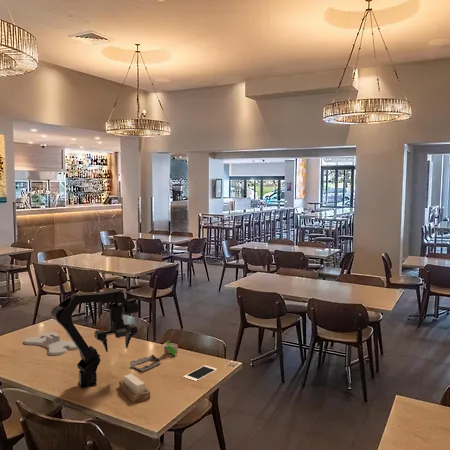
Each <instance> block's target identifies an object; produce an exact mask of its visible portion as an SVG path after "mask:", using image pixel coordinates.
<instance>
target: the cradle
mask: <svg viewBox="0 0 450 450" xmlns="http://www.w3.org/2000/svg"><path fill="white" fill-rule="evenodd" d="M118 383H119V385H118V386H119V388H120V389H121V391H122V392H123V393H124V395H125V396H126V397H127V398H128V399H129V401H130V402H131V403H137V402H140V401H145V400H149V399H150V398H151V391H150V390H149V389H148V388H147V386H145V392H144V393H140V394H137V395H135V394H134V393H132V392H131V391H130V390H129V389H128V388H127V387H126V386H125V385H124V379H122V380H121V379H120V380H118Z"/></svg>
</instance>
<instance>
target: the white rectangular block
mask: <svg viewBox="0 0 450 450" xmlns="http://www.w3.org/2000/svg"><path fill="white" fill-rule="evenodd" d="M123 380H124V385H125V386H126V387H127V388H128V389H129V390H130V391H131V392H132V393H134V394H135V395H137V394H140V393H144V392H145V387H146V385H145V382H144V381H142V380H141V379H139V378H138V377H137V376H135V375H134V374H132V373H129V374H125V375H123Z"/></svg>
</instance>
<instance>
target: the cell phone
mask: <svg viewBox="0 0 450 450" xmlns="http://www.w3.org/2000/svg"><path fill="white" fill-rule="evenodd" d="M216 371H218V368H215V367H212V366H209V365H207V364H206V365H202V366H201V367H199V368H197V369H194V370H193V371H191V372H189V373H188V374H184V375H183V376H182V377H183V378H184V377H185V378H184V379H187V378H188V380H190V379H191V380H190V381H193V380H194V381H193V382H198V381H199V380H201V379H203V378H205V377H207V376H209V375H211V374H212V373H214V372H216ZM210 373H211V374H210ZM197 380H198V381H197Z"/></svg>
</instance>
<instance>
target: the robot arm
mask: <svg viewBox="0 0 450 450" xmlns="http://www.w3.org/2000/svg"><path fill="white" fill-rule="evenodd" d="M89 303H90V304H91V303H107V304H106V305H104V308H105V309H107V310H109V319H108V321H109V328H108V329H109V330H104V329H103V328H102V329H97V330H95V331H94V335H93V336H94V338H95V339H96V340H97V341H100V342H102V346H103V347H104V349H105V352H106V353H108V352H109V351H108V350H109V349H108V338H107V336H113V335H114V336H115V338H117V339H119V338H123V337H124V339H125V342H124V344H125V349H128V348H129V344H130V342H131V339H132V337H134V336H136V334H138V333H139V328H138V327H137V326H136V325H135V324H130V323H129V324H125V321H124V318H123V317H124V316H123V315H125V316H127V315H133V314H138V313H139V310H140V306H139V303H138V301H137V298H131V299H126V297H125V294H124V292H123V291H121V290H119V289H116V288H110V289H106V290H104V291H101V292H85V293H84V292H83V293H76V292H75V293H71V294H70V295H69V296H68V297H67V298H66V299H64V300H62V301H61V302H60V303H59V304H58V305H55V306H54V307H53V308H52V309H51V312H50V316H51V318H53V319H54V321H56V322H57V324H59V325H60V326H61V327H62V328H63V329H64V330H65V332H66V333H67V335H68V336H69V338H70V339H71V341H73V342H74V344H75V345H76V347H77V348H78V349H77V350H78V352H79V356H80V358H81V359H80V361H79V362H78V363H77V364H76V366H77V368H78V378H79V379H78V380H79V381H78V382H77V383H78V385H79V386H80V388H81V389H85V388H89V387H93V386H96V385H97V381H98V379H97V369H98V367H99V365H100V363H101V358H100V357H101V355H100V354H99V353H98V350H97V349H96V348H95V347H94V346H92V345H88V344H87V342H86V341H85V339H84V338H83V336H82V334H81V333H80V332H79V330H78V329H77V327H76V326H75V324H74V322H73V321H74V320H73V318H72V314H73V313H74V312H75V310H76V308H77V307H78V306H79V305H80V304H89Z"/></svg>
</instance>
